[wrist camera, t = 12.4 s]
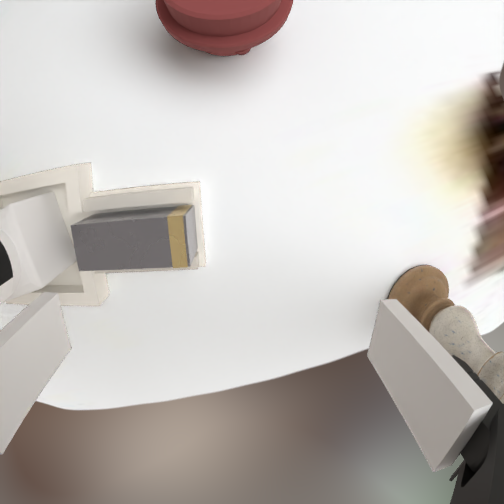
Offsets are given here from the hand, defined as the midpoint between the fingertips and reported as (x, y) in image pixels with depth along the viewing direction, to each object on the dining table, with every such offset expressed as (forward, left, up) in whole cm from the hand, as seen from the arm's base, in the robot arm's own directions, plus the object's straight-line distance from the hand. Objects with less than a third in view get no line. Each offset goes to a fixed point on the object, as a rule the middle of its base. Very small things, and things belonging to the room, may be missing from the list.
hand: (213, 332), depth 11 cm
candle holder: (+10, +22, -19) cm, 31 cm away
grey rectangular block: (0, -8, -18) cm, 19 cm away
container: (0, -20, -18) cm, 27 cm away
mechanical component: (-19, +1, -19) cm, 27 cm away
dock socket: (0, -15, -19) cm, 24 cm away
